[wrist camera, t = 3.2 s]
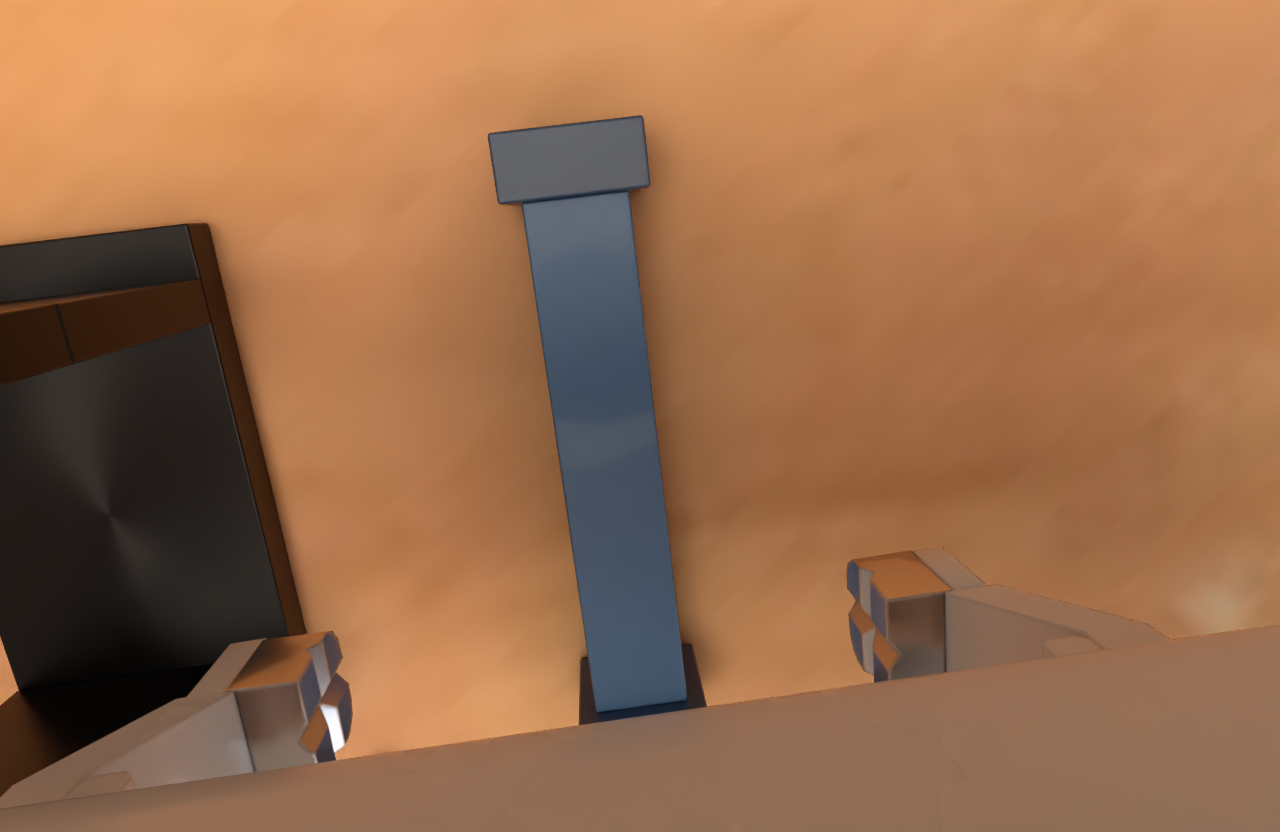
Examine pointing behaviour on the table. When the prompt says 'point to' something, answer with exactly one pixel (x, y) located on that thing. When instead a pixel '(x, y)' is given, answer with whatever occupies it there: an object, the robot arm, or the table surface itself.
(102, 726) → the holder
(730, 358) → the table surface
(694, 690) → the handle
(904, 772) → the robot arm
